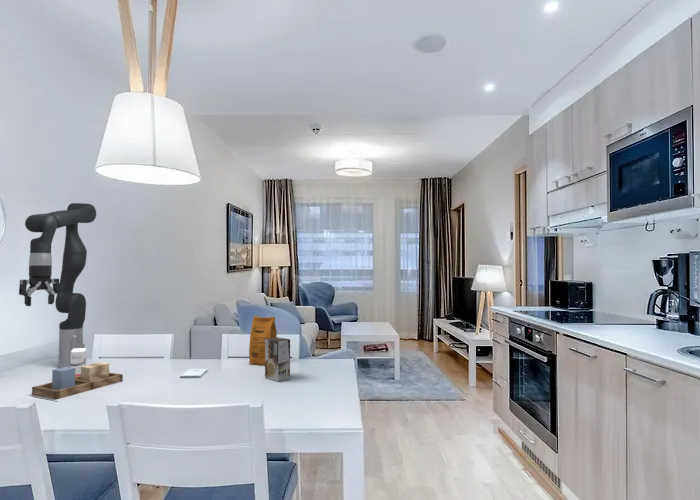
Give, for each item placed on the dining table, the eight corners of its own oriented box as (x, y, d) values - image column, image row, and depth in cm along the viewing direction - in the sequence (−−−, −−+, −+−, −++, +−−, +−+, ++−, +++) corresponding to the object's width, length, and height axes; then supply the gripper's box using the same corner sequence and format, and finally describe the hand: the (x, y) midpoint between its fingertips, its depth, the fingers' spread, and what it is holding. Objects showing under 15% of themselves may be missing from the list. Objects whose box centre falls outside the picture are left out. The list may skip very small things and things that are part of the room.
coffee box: (290, 379, 181) (291, 339, 181) (278, 382, 176) (278, 341, 177) (276, 375, 187) (277, 336, 188) (264, 378, 182) (264, 338, 183)
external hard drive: (179, 379, 182) (188, 372, 195) (200, 379, 183) (207, 372, 195) (179, 375, 182) (188, 368, 195) (200, 375, 183) (207, 368, 195)
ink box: (84, 380, 179) (84, 350, 179) (69, 381, 177) (70, 351, 177) (86, 375, 187) (86, 347, 187) (72, 376, 184) (72, 348, 185)
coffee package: (256, 360, 217) (256, 314, 217) (279, 362, 213) (279, 315, 213) (245, 364, 207) (245, 316, 208) (269, 366, 203) (269, 317, 204)
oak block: (100, 380, 176) (100, 362, 176) (108, 381, 174) (109, 363, 174) (80, 385, 169) (80, 366, 169) (89, 386, 167) (89, 367, 167)
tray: (99, 379, 180) (99, 371, 180) (122, 383, 175) (122, 374, 175) (31, 396, 157) (32, 387, 157) (56, 401, 151) (56, 391, 151)
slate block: (65, 388, 164) (66, 366, 164) (74, 390, 161) (75, 368, 162) (51, 392, 159) (52, 369, 159) (61, 394, 157) (61, 371, 157)
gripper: (52, 264, 187) (51, 303, 187) (15, 264, 174) (14, 306, 174) (64, 264, 184) (63, 304, 184) (27, 264, 171) (26, 307, 171)
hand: (39, 305), depth 179 cm, fingers open, 8 cm apart
